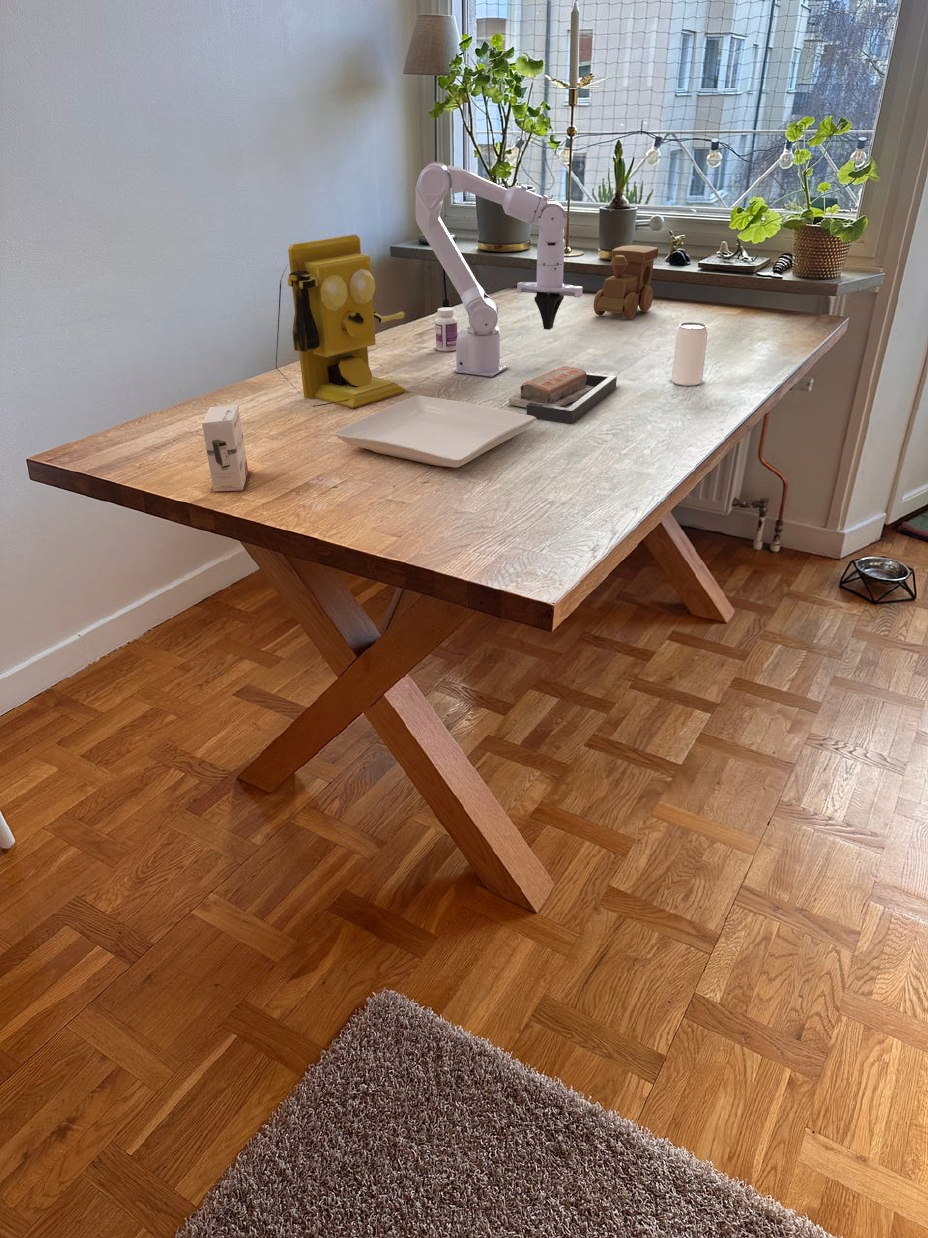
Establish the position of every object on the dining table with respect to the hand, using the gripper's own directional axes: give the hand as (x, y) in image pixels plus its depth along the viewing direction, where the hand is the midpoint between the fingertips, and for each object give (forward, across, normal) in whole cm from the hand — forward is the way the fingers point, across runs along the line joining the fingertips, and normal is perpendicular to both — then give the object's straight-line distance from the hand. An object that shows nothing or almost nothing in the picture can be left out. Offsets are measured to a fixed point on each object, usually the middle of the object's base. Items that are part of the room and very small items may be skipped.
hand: (548, 328), depth 198 cm
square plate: (+10, 0, -52) cm, 53 cm away
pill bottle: (+10, -30, +8) cm, 32 cm away
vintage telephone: (+10, -30, -34) cm, 46 cm away
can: (+10, +31, +4) cm, 33 cm away
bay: (+9, +13, -19) cm, 25 cm away
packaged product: (+10, +9, -19) cm, 23 cm away
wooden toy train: (+10, -3, +63) cm, 64 cm away
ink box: (+10, -22, -83) cm, 86 cm away
